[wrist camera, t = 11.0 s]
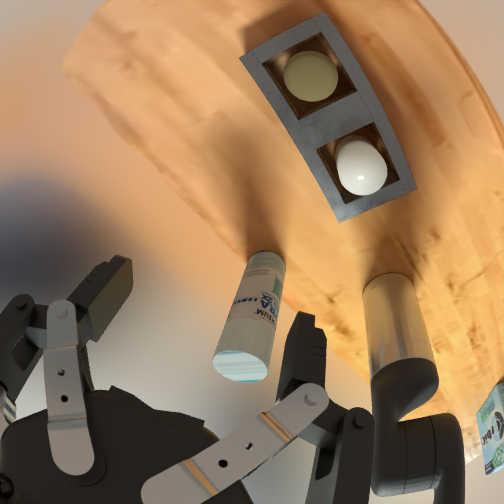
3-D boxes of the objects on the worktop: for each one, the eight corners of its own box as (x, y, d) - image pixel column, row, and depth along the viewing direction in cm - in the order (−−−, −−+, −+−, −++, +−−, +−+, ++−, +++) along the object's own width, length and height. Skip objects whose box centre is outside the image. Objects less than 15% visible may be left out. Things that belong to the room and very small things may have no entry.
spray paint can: (291, 278, 50) (275, 381, 34) (255, 285, 52) (226, 384, 36) (279, 245, 47) (255, 347, 31) (240, 254, 49) (202, 352, 33)
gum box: (495, 383, 57) (512, 453, 38) (509, 379, 56) (527, 447, 37) (475, 415, 67) (484, 475, 48) (487, 412, 65) (498, 471, 46)
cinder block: (409, 178, 37) (417, 188, 34) (337, 209, 42) (339, 222, 39) (323, 17, 28) (324, 11, 25) (246, 59, 33) (238, 57, 30)
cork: (318, 45, 30) (320, 34, 21) (344, 85, 32) (356, 88, 23) (277, 68, 33) (264, 66, 24) (304, 107, 35) (300, 118, 26)
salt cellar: (382, 165, 37) (394, 183, 31) (346, 182, 40) (351, 202, 34) (364, 128, 35) (374, 139, 29) (327, 146, 37) (329, 160, 32)
